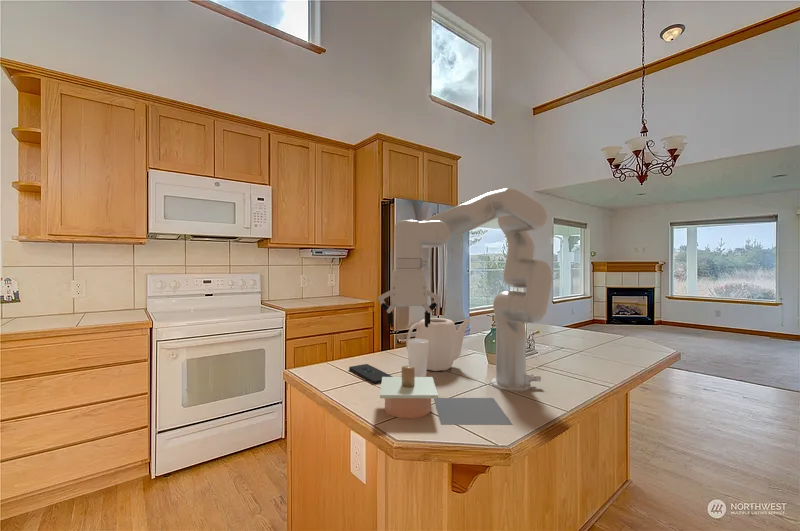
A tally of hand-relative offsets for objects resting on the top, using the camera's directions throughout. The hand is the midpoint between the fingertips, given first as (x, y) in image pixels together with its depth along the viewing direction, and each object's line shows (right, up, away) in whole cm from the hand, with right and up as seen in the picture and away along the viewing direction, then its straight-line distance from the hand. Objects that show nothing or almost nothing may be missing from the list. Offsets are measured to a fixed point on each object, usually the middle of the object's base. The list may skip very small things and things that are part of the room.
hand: (409, 326), depth 100 cm
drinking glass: (+3, -23, +20) cm, 31 cm away
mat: (+17, -23, -1) cm, 29 cm away
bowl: (0, -23, 0) cm, 23 cm away
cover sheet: (0, -17, 0) cm, 17 cm away
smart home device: (-13, -24, +31) cm, 42 cm away
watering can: (+13, -23, +41) cm, 49 cm away
